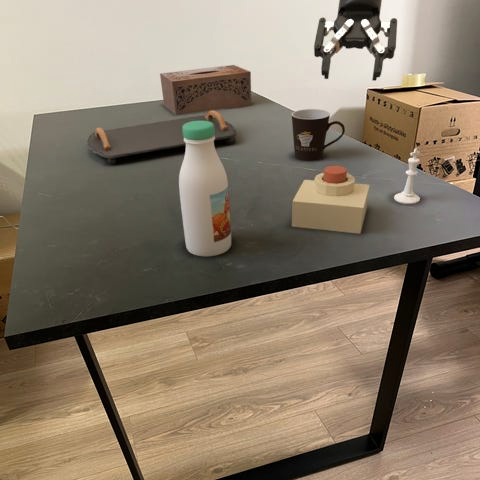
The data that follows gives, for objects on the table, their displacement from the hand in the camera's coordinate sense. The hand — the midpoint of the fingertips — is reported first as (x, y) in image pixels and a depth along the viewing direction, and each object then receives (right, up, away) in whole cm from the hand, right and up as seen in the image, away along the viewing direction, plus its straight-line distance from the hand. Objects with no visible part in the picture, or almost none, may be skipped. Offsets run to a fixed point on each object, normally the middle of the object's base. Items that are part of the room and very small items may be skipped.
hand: (350, 77), depth 84 cm
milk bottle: (-25, -31, -4) cm, 40 cm away
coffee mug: (-2, -6, +27) cm, 28 cm away
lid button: (-3, -19, -1) cm, 19 cm away
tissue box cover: (-31, +28, +72) cm, 83 cm away
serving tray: (-40, +3, +41) cm, 58 cm away
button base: (-3, -25, +2) cm, 25 cm away
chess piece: (+12, -21, +7) cm, 25 cm away
